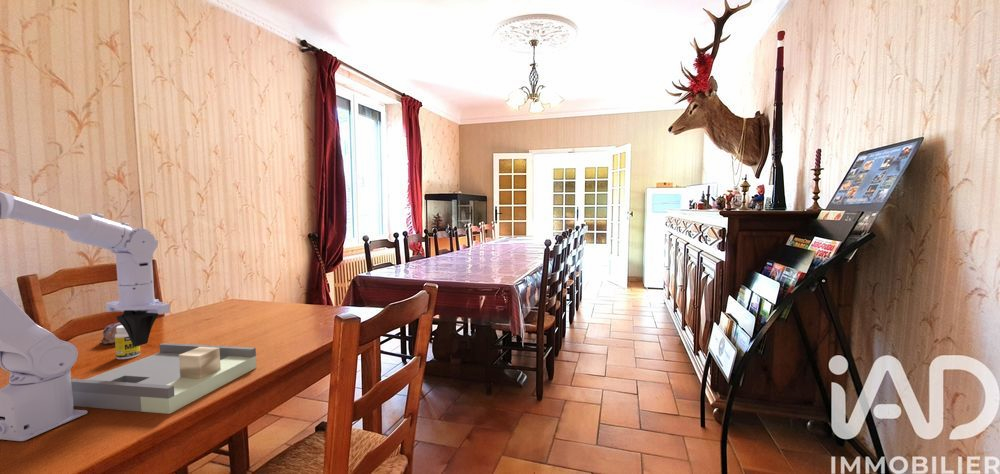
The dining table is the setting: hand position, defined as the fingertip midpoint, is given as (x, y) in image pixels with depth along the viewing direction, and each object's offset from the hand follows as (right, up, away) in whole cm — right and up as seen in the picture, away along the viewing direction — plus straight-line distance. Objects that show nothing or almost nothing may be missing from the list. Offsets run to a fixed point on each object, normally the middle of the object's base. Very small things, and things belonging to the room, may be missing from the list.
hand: (140, 344), depth 87 cm
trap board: (+5, -9, +1) cm, 10 cm away
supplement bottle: (-20, -8, +18) cm, 28 cm away
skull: (-35, -8, +32) cm, 48 cm away
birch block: (+13, -6, 0) cm, 15 cm away
